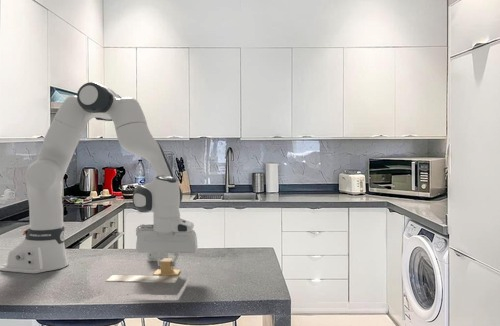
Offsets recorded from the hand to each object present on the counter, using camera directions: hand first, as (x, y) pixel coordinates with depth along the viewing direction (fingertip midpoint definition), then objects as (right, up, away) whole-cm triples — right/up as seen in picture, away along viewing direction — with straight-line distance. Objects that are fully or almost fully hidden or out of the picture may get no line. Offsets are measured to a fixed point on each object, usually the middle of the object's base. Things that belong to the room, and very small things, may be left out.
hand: (167, 265), depth 155 cm
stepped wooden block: (0, -3, 0) cm, 3 cm away
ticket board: (-6, -4, -3) cm, 8 cm away
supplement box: (-7, -3, +20) cm, 22 cm away
